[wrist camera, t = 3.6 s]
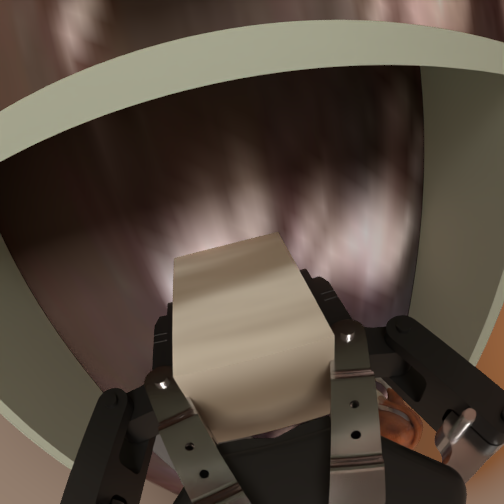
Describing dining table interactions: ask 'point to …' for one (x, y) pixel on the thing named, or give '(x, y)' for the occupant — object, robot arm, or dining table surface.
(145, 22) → the dining table surface
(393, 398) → the bull figurine
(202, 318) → the cream block
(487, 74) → the green u-shaped frame
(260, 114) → the dining table surface
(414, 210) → the dining table surface
